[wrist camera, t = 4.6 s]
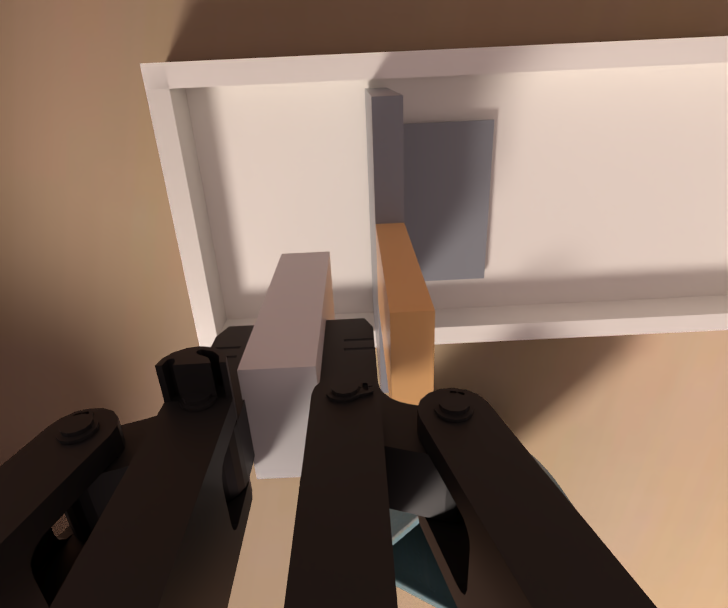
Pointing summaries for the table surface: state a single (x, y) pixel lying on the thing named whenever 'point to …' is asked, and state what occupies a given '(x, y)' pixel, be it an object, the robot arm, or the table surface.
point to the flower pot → (421, 559)
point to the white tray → (507, 185)
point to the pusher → (421, 229)
